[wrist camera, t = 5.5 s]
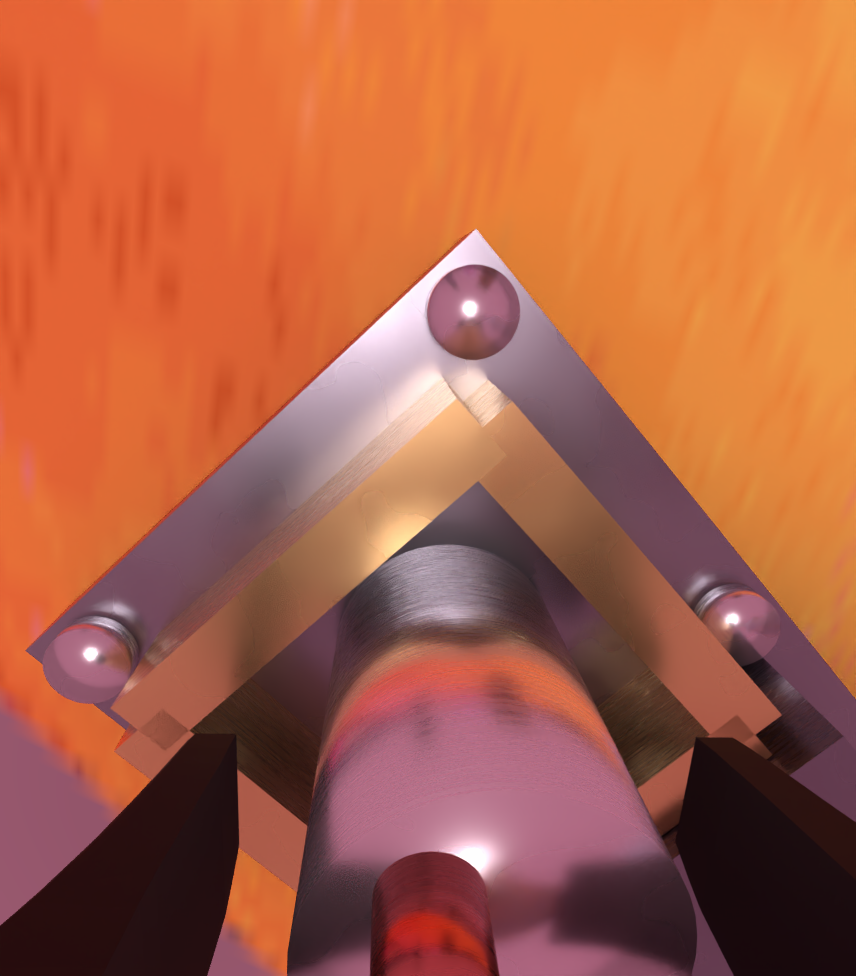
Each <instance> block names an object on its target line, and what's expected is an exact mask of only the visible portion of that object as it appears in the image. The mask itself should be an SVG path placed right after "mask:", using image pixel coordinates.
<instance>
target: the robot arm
mask: <svg viewBox="0 0 856 976" xmlns="http://www.w3.org/2000/svg"><path fill="white" fill-rule="evenodd" d="M675 842H676V845H677V848H678V851H679V854H680V857H681V859H682V862H683V865H684V868H685V871H686V874H687V876H688V879H689V882H690V884H691V887H692V889H693V892H694V894H695V897H696V900H697V902H698V905H699V907H700V910H701V912H702V914H703V916H704V918H705V920H706V922H707V924H708V926H709V928H710V930H711V932H712V934H713V936H714V938H715V940H716V942H717V944H718V946H719V948H720V950H721V952H722V954H723V956H724V958H725V960H726V962H727V964H728V966H729V968H730V969H731V971H732V973H733V975H734V976H856V822H855V821H853V820H852V819H850V818H849V817H848V816H846V815H845V814H843V813H842V812H840V811H839V810H838V809H836V808H835V807H833V806H832V805H830V804H829V803H828V802H826V801H825V800H823V799H822V798H820V797H819V796H818V795H816V794H815V793H813V792H812V791H811V790H809V789H808V788H806V787H805V786H804V785H802V784H801V783H799V782H798V781H797V780H795V779H794V778H792V777H791V776H789V775H788V774H787V773H785V772H784V771H782V770H781V769H780V768H778V767H777V766H775V765H774V764H772V763H771V762H770V761H768V760H767V759H765V758H764V757H762V756H761V755H759V754H758V753H756V752H755V751H753V750H752V749H750V748H749V747H747V746H746V745H744V744H743V743H741V742H739V741H738V740H736V739H734V738H733V737H696V739H695V744H694V749H693V754H692V759H691V764H690V769H689V774H688V779H687V785H686V790H685V795H684V800H683V805H682V810H681V815H680V820H679V825H678V830H677V835H676V840H675ZM238 848H239V812H238V775H237V738H236V734H211V733H195V734H194V735H193V736H192V737H191V738H190V739H188V740H187V742H186V743H185V744H184V745H183V746H182V747H181V748H180V749H179V750H178V752H177V753H176V754H175V755H174V756H173V757H172V758H171V759H170V760H169V762H168V763H167V764H166V765H165V766H164V767H163V768H162V769H161V770H160V772H159V773H158V774H157V775H156V776H155V777H154V778H153V779H152V780H151V781H150V782H149V784H148V785H147V786H146V787H145V788H144V789H143V790H142V791H141V792H140V793H139V794H138V795H137V797H136V798H135V799H134V800H133V801H132V802H131V803H130V804H129V805H128V806H127V807H126V808H125V809H124V810H123V811H122V812H121V813H120V814H119V815H118V816H117V817H116V818H115V819H114V820H113V821H112V822H111V823H110V824H109V825H108V827H106V829H104V831H103V832H102V833H101V834H100V835H99V836H98V837H97V838H96V839H95V840H94V841H93V842H92V843H91V844H89V846H88V847H86V848H85V849H84V850H83V851H82V852H81V853H80V854H79V855H78V856H77V857H76V858H75V859H74V860H73V861H71V862H70V863H69V864H68V865H67V866H66V867H65V868H64V869H63V870H62V871H61V872H60V873H59V874H58V875H57V876H56V877H54V878H53V879H52V880H51V881H50V882H49V883H48V884H47V885H46V886H45V887H44V888H43V889H42V890H41V891H40V892H38V893H37V894H36V895H35V896H34V897H33V898H32V899H30V900H29V901H28V902H27V903H26V904H25V905H24V906H22V907H21V908H20V909H19V910H18V911H17V912H16V913H15V914H13V915H12V916H11V917H10V918H9V919H7V920H6V921H5V922H4V923H3V924H2V925H0V976H207V975H208V971H209V967H210V964H211V961H212V958H213V955H214V951H215V948H216V945H217V942H218V938H219V935H220V932H221V928H222V925H223V921H224V918H225V915H226V910H227V905H228V900H229V895H230V890H231V885H232V880H233V875H234V869H235V864H236V859H237V854H238Z"/></svg>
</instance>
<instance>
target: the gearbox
mask: <svg viewBox="0 0 856 976" xmlns="http://www.w3.org/2000/svg"><path fill="white" fill-rule="evenodd" d="M435 545H462V546H468V547H473V548H478V549H481V550H484V551H487V552H490V553H492V554H494V555H497V556H499V557H501V558H503V559H504V560H506V561H508V562H509V563H511V564H512V565H514V566H515V567H516V568H517V569H519V570H520V571H521V572H522V573H523V574H524V575H525V576H526V577H527V578H528V579H529V580H530V581H531V582H532V584H533V585H534V586H535V588H536V589H537V591H538V592H539V594H540V595H541V597H542V599H543V601H544V603H545V605H546V607H547V609H548V611H549V613H550V615H551V617H552V619H553V621H554V623H555V625H556V627H557V629H558V631H559V633H560V635H561V637H562V639H563V641H564V643H565V645H566V647H567V649H568V651H569V653H570V655H571V657H572V659H573V661H574V663H575V665H576V667H577V669H578V671H579V673H580V675H581V677H582V679H583V681H584V683H585V685H586V687H587V689H588V691H589V693H590V695H591V697H592V699H593V701H594V703H595V705H596V707H597V709H598V711H599V713H600V715H601V717H602V719H603V721H604V723H605V725H606V727H607V729H608V731H609V733H610V735H611V737H612V739H613V741H614V743H615V745H616V747H617V749H618V751H619V753H620V755H621V757H622V759H623V761H624V763H625V765H626V767H627V769H628V771H629V773H630V775H631V777H632V779H633V781H634V783H635V785H636V787H637V789H638V791H639V793H640V795H641V797H642V799H643V801H644V803H645V805H646V807H647V809H648V811H649V813H650V815H651V817H652V819H653V821H654V823H655V825H656V827H657V829H658V831H659V833H660V835H661V837H662V839H663V841H664V843H665V845H666V847H667V849H668V851H669V853H670V855H671V857H672V859H673V861H674V863H675V865H676V867H677V869H678V871H679V873H680V875H681V877H682V879H683V881H684V883H685V886H686V888H687V890H688V892H689V894H690V897H691V901H692V904H693V908H694V912H695V915H696V926H697V948H696V958H695V962H694V966H693V971H692V975H691V976H734V975H733V973H732V971H731V969H730V968H729V966H728V964H727V962H726V960H725V958H724V956H723V954H722V952H721V950H720V948H719V946H718V944H717V942H716V940H715V938H714V936H713V934H712V932H711V930H710V928H709V926H708V924H707V922H706V920H705V918H704V916H703V914H702V912H701V910H700V907H699V905H698V902H697V900H696V897H695V894H694V892H693V889H692V887H691V884H690V882H689V879H688V876H687V874H686V871H685V868H684V865H683V862H682V859H681V857H680V854H679V851H678V848H677V845H676V842H675V840H676V835H677V830H678V825H679V820H680V815H681V810H682V805H683V800H684V795H685V790H686V785H687V779H688V774H689V769H690V764H691V759H692V754H693V749H694V744H695V739H696V737H733V738H734V739H736V740H738V741H739V742H741V743H743V744H744V745H746V746H747V747H749V748H750V749H752V750H753V751H755V752H756V753H758V754H759V755H761V756H762V757H764V758H765V759H767V760H768V761H770V762H771V763H772V764H774V765H775V766H777V767H778V768H780V769H781V770H782V771H784V772H785V773H787V774H788V775H789V776H791V777H792V778H794V779H795V780H797V781H798V782H799V783H801V784H802V785H804V786H805V787H806V788H808V789H809V790H811V791H812V792H813V793H815V794H816V795H818V796H819V797H820V798H822V799H823V800H825V801H826V802H828V803H829V804H830V805H832V806H833V807H835V808H836V809H838V810H839V811H840V812H842V813H843V814H845V815H846V816H848V817H849V818H850V819H852V820H853V821H855V822H856V699H855V698H854V697H853V696H852V694H851V693H850V692H849V691H848V689H847V688H846V687H845V686H844V684H843V683H842V682H841V681H840V679H839V678H838V677H837V676H836V675H835V673H834V672H833V671H832V670H831V668H830V667H829V666H828V665H827V663H826V662H825V661H824V660H823V658H822V657H821V656H820V655H819V653H818V652H817V651H816V650H815V648H814V647H813V646H812V645H811V644H810V642H809V641H808V640H807V639H806V637H805V636H804V635H803V634H802V632H801V631H800V630H799V629H798V627H797V626H796V625H795V624H794V622H793V621H792V620H791V619H790V617H789V616H788V615H787V614H786V613H785V611H784V610H783V609H782V608H781V606H780V605H779V604H778V603H777V601H776V600H775V599H774V598H773V596H772V595H771V594H770V593H769V591H768V590H767V589H766V588H765V586H764V585H763V584H762V583H761V582H760V580H759V579H758V578H757V577H756V575H755V574H754V573H753V572H752V570H751V569H750V568H749V567H748V565H747V564H746V563H745V562H744V560H743V559H742V558H741V557H740V555H739V554H738V553H737V552H736V551H735V549H734V548H733V547H732V546H731V544H730V543H729V542H728V541H727V539H726V538H725V537H724V536H723V534H722V533H721V532H720V531H719V529H718V528H717V527H716V526H715V524H714V523H713V522H712V521H711V520H710V518H709V517H708V516H707V515H706V513H705V512H704V511H703V510H702V508H701V507H700V506H699V505H698V503H697V502H696V501H695V500H694V498H693V497H692V496H691V495H690V493H689V492H688V491H687V490H686V489H685V487H684V486H683V485H682V484H681V482H680V481H679V480H678V479H677V477H676V476H675V475H674V474H673V472H672V471H671V470H670V469H669V467H668V466H667V465H666V464H665V462H664V461H663V460H662V459H661V458H660V456H659V455H658V454H657V453H656V451H655V450H654V449H653V448H652V446H651V445H650V444H649V443H648V441H647V440H646V439H645V438H644V436H643V435H642V434H641V433H640V431H639V430H638V429H637V428H636V427H635V425H634V424H633V423H632V422H631V420H630V419H629V418H628V417H627V415H626V414H625V413H624V412H623V410H622V409H621V408H620V407H619V405H618V404H617V403H616V402H615V400H614V399H613V398H612V397H611V396H610V394H609V393H608V392H607V391H606V389H605V388H604V387H603V386H602V384H601V383H600V382H599V381H598V379H597V378H596V377H595V376H594V374H593V373H592V372H591V371H590V369H589V368H588V367H587V366H586V365H585V363H584V362H583V361H582V360H581V358H580V357H579V356H578V355H577V353H576V352H575V351H574V350H573V348H572V347H571V346H570V345H569V343H568V342H567V341H566V340H565V338H564V337H563V336H562V335H561V334H560V332H559V331H558V330H557V329H556V327H555V326H554V325H553V324H552V322H551V321H550V320H549V319H548V317H547V316H546V315H545V314H544V312H543V311H542V310H541V309H540V307H539V306H538V305H537V304H536V303H535V301H534V300H533V299H532V298H531V296H530V295H529V294H528V293H527V291H526V290H525V289H524V288H523V286H522V285H521V284H520V283H519V281H518V280H517V279H516V278H515V276H514V275H513V274H512V273H511V272H510V270H509V269H508V268H507V267H506V265H505V264H504V263H503V262H502V260H501V259H500V258H499V257H498V255H497V254H496V253H495V252H494V250H493V249H492V248H491V247H490V245H489V244H488V243H487V242H486V241H485V239H484V238H483V237H482V236H481V234H480V233H479V232H478V231H477V229H475V230H473V231H472V232H470V233H468V234H467V235H465V236H464V237H462V238H461V239H460V240H459V241H458V242H457V243H456V244H455V245H454V246H453V247H452V248H451V249H450V250H449V251H447V252H446V253H445V254H444V255H443V256H442V257H441V258H440V259H439V260H438V261H437V262H436V263H435V264H434V265H433V266H431V267H430V268H429V269H428V270H427V271H426V272H425V273H424V274H423V275H422V276H421V277H420V278H419V279H418V280H417V281H415V282H414V283H413V284H412V285H411V286H410V287H409V288H408V289H407V290H406V291H405V292H404V293H403V294H402V295H401V296H399V297H398V298H397V299H396V300H395V301H394V302H393V303H392V304H391V305H390V306H389V307H388V308H387V309H386V310H385V311H383V312H382V313H381V314H380V315H379V316H378V317H377V318H376V319H375V320H374V321H373V322H372V323H371V324H370V325H369V326H367V327H366V328H365V329H364V330H363V331H362V332H361V333H360V334H359V335H358V336H357V337H356V338H355V339H354V340H353V341H351V342H350V343H349V344H348V345H347V346H346V347H345V348H344V349H343V350H342V351H341V352H340V353H339V354H338V355H336V356H335V357H334V358H333V359H332V360H331V361H330V362H329V363H328V364H327V365H326V366H325V367H324V368H323V369H322V370H320V371H319V372H318V373H317V374H316V375H315V376H314V377H313V378H312V379H311V380H310V381H309V382H308V383H307V384H306V385H304V386H303V387H302V388H301V389H300V390H299V391H298V392H297V393H296V394H295V395H294V396H293V397H292V398H291V399H290V400H288V401H287V402H286V403H285V404H284V405H283V406H282V407H281V408H280V409H279V410H278V411H277V412H276V413H275V414H274V415H272V416H271V417H270V418H269V419H268V420H267V421H266V422H265V423H264V424H263V425H262V426H261V427H260V428H259V429H258V430H256V431H255V432H254V433H253V434H252V435H251V436H250V437H249V438H248V439H247V440H246V441H245V442H244V443H243V444H242V445H240V446H239V447H238V448H237V449H236V450H235V451H234V452H233V453H232V454H231V455H230V456H229V457H228V458H227V459H226V460H224V461H223V462H222V463H221V464H220V465H219V466H218V467H217V468H216V469H215V470H214V471H213V472H212V473H211V474H210V475H208V476H207V477H206V478H205V479H204V480H203V481H202V482H201V483H200V484H199V485H198V486H197V487H196V488H195V489H194V490H192V491H191V492H190V493H189V494H188V495H187V496H186V497H185V498H184V499H183V500H182V501H181V502H180V503H179V504H178V505H176V506H175V507H174V508H173V509H172V510H171V511H170V512H169V513H168V514H167V515H166V516H165V517H164V518H163V519H162V520H160V521H159V522H158V523H157V524H156V525H155V526H154V527H153V528H152V529H151V530H150V531H149V532H148V533H147V534H146V535H144V536H143V537H142V538H141V539H140V540H139V541H138V542H137V543H136V544H135V545H134V546H133V547H132V548H131V549H130V550H128V551H127V552H126V553H125V554H124V555H123V556H122V557H121V558H120V559H119V560H118V561H117V562H116V563H115V564H114V565H112V566H111V567H110V568H109V569H108V570H107V571H106V572H105V573H104V574H103V575H102V576H101V577H100V578H99V579H98V580H96V581H95V582H94V583H93V584H92V585H91V586H90V587H89V588H88V589H87V590H86V591H85V592H84V593H83V594H82V595H80V596H79V597H78V598H77V599H76V600H75V601H74V602H73V603H72V604H71V605H70V606H69V607H68V608H67V609H66V610H65V611H64V612H63V613H62V614H61V615H60V616H59V617H58V618H57V619H56V620H55V621H54V622H53V623H52V624H51V625H50V626H49V627H48V628H47V629H46V630H45V631H44V632H43V633H42V634H41V635H40V636H39V637H38V638H37V639H36V640H35V641H34V642H33V643H32V644H31V646H30V647H29V648H28V649H27V650H26V651H27V652H28V653H29V654H30V655H32V656H33V657H34V658H35V659H37V660H38V661H39V662H41V663H42V664H43V671H44V674H45V677H46V679H47V681H48V682H49V684H50V685H51V686H52V687H53V689H54V690H56V691H57V692H58V693H59V694H61V695H62V696H64V697H66V698H67V699H70V700H72V701H76V702H79V703H88V704H92V703H93V704H94V705H95V706H97V707H98V708H99V709H100V710H102V711H103V712H104V713H105V714H107V715H108V716H109V717H111V718H112V719H113V720H114V721H116V722H117V723H118V724H119V725H121V726H122V727H123V728H125V729H126V731H125V733H124V735H123V737H122V738H121V740H120V742H119V743H118V745H117V747H116V749H115V750H114V752H116V753H117V754H118V755H120V756H121V757H122V758H123V759H125V760H126V761H127V762H129V763H130V764H131V765H133V766H134V767H135V768H136V769H138V770H139V771H140V772H142V773H143V774H144V775H146V776H147V777H148V778H149V779H151V780H152V779H153V778H154V777H155V776H156V775H157V774H158V773H159V772H160V770H161V769H162V768H163V767H164V766H165V765H166V764H167V763H168V762H169V760H170V759H171V758H172V757H173V756H174V755H175V754H176V753H177V752H178V750H179V749H180V748H181V747H182V746H183V745H184V744H185V743H186V742H187V740H188V739H190V738H191V737H192V736H193V735H194V734H195V733H211V734H236V738H237V775H238V812H239V848H240V849H242V850H243V851H244V852H245V853H247V854H248V855H249V856H251V857H252V858H253V859H255V860H256V861H257V862H258V863H260V864H261V865H262V866H264V867H265V868H266V869H267V870H269V871H270V872H271V873H273V874H274V875H275V876H277V877H278V878H279V879H280V880H282V881H283V882H284V883H286V884H287V885H288V886H290V887H291V888H292V889H293V890H295V891H296V892H297V890H298V883H299V877H300V871H301V864H302V858H303V852H304V845H305V839H306V832H307V826H308V820H309V813H310V807H311V801H312V794H313V788H314V781H315V775H316V769H317V762H318V756H319V750H320V743H321V737H322V730H323V724H324V718H325V711H326V705H327V699H328V692H329V686H330V679H331V673H332V667H333V660H334V654H335V648H336V641H337V635H338V630H339V624H340V620H341V618H342V615H343V612H344V609H345V607H346V605H347V603H348V601H349V599H350V597H351V596H352V595H353V593H354V592H355V590H356V589H357V588H358V586H359V585H360V584H361V583H362V582H363V581H364V580H365V579H366V578H367V577H368V576H369V575H370V574H371V573H372V572H373V571H375V570H376V569H377V568H378V567H380V566H381V565H383V564H384V563H386V562H387V561H389V560H391V559H393V558H395V557H397V556H399V555H401V554H403V553H406V552H409V551H412V550H415V549H418V548H423V547H428V546H435Z"/></svg>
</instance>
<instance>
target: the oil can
mask: <svg viewBox="0 0 856 976" xmlns="http://www.w3.org/2000/svg"><path fill="white" fill-rule="evenodd" d="M696 948H697V926H696V915H695V912H694V908H693V904H692V901H691V897H690V894H689V892H688V890H687V888H686V886H685V883H684V881H683V879H682V877H681V875H680V873H679V871H678V869H677V867H676V865H675V863H674V861H673V859H672V857H671V855H670V853H669V851H668V849H667V847H666V845H665V843H664V841H663V839H662V837H661V835H660V833H659V831H658V829H657V827H656V825H655V823H654V821H653V819H652V817H651V815H650V813H649V811H648V809H647V807H646V805H645V803H644V801H643V799H642V797H641V795H640V793H639V791H638V789H637V787H636V785H635V783H634V781H633V779H632V777H631V775H630V773H629V771H628V769H627V767H626V765H625V763H624V761H623V759H622V757H621V755H620V753H619V751H618V749H617V747H616V745H615V743H614V741H613V739H612V737H611V735H610V733H609V731H608V729H607V727H606V725H605V723H604V721H603V719H602V717H601V715H600V713H599V711H598V709H597V707H596V705H595V703H594V701H593V699H592V697H591V695H590V693H589V691H588V689H587V687H586V685H585V683H584V681H583V679H582V677H581V675H580V673H579V671H578V669H577V667H576V665H575V663H574V661H573V659H572V657H571V655H570V653H569V651H568V649H567V647H566V645H565V643H564V641H563V639H562V637H561V635H560V633H559V631H558V629H557V627H556V625H555V623H554V621H553V619H552V617H551V615H550V613H549V611H548V609H547V607H546V605H545V603H544V601H543V599H542V597H541V595H540V594H539V592H538V591H537V589H536V588H535V586H534V585H533V584H532V582H531V581H530V580H529V579H528V578H527V577H526V576H525V575H524V574H523V573H522V572H521V571H520V570H519V569H517V568H516V567H515V566H514V565H512V564H511V563H509V562H508V561H506V560H504V559H503V558H501V557H499V556H497V555H494V554H492V553H490V552H487V551H484V550H481V549H478V548H473V547H468V546H462V545H435V546H428V547H423V548H418V549H415V550H412V551H409V552H406V553H403V554H401V555H399V556H397V557H395V558H393V559H391V560H389V561H387V562H386V563H384V564H383V565H381V566H380V567H378V568H377V569H376V570H375V571H373V572H372V573H371V574H370V575H369V576H368V577H367V578H366V579H365V580H364V581H363V582H362V583H361V584H360V585H359V586H358V588H357V589H356V590H355V592H354V593H353V595H352V596H351V597H350V599H349V601H348V603H347V605H346V607H345V609H344V612H343V615H342V618H341V620H340V624H339V630H338V635H337V641H336V648H335V654H334V660H333V667H332V673H331V679H330V686H329V692H328V699H327V705H326V711H325V718H324V724H323V730H322V737H321V743H320V750H319V756H318V762H317V769H316V775H315V781H314V788H313V794H312V801H311V807H310V813H309V820H308V826H307V832H306V839H305V845H304V852H303V858H302V864H301V871H300V877H299V883H298V890H297V896H296V903H295V909H294V915H293V922H292V928H291V934H290V941H289V947H288V960H287V976H691V975H692V971H693V966H694V962H695V958H696Z"/></svg>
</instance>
